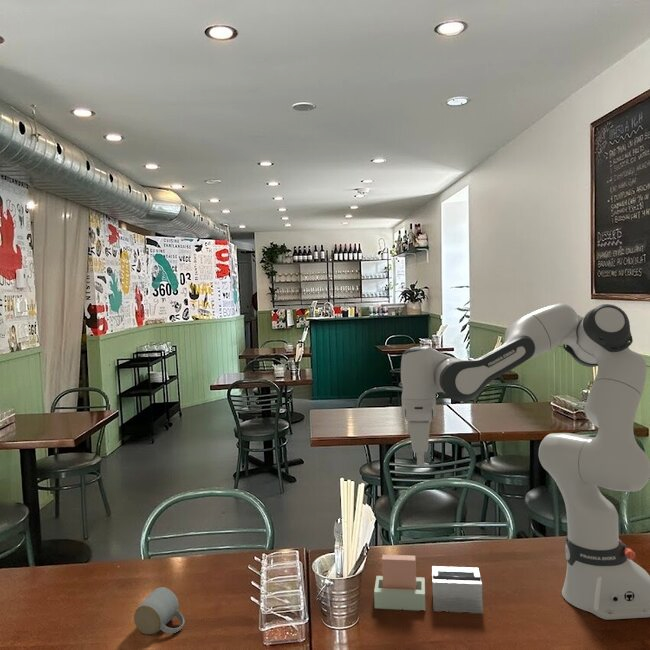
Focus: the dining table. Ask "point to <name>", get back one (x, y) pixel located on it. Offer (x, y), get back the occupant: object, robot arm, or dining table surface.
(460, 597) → the dispenser
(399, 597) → the stand
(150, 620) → the ceramic mug
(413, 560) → the ticket
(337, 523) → the wineglass
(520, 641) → the dining table surface
